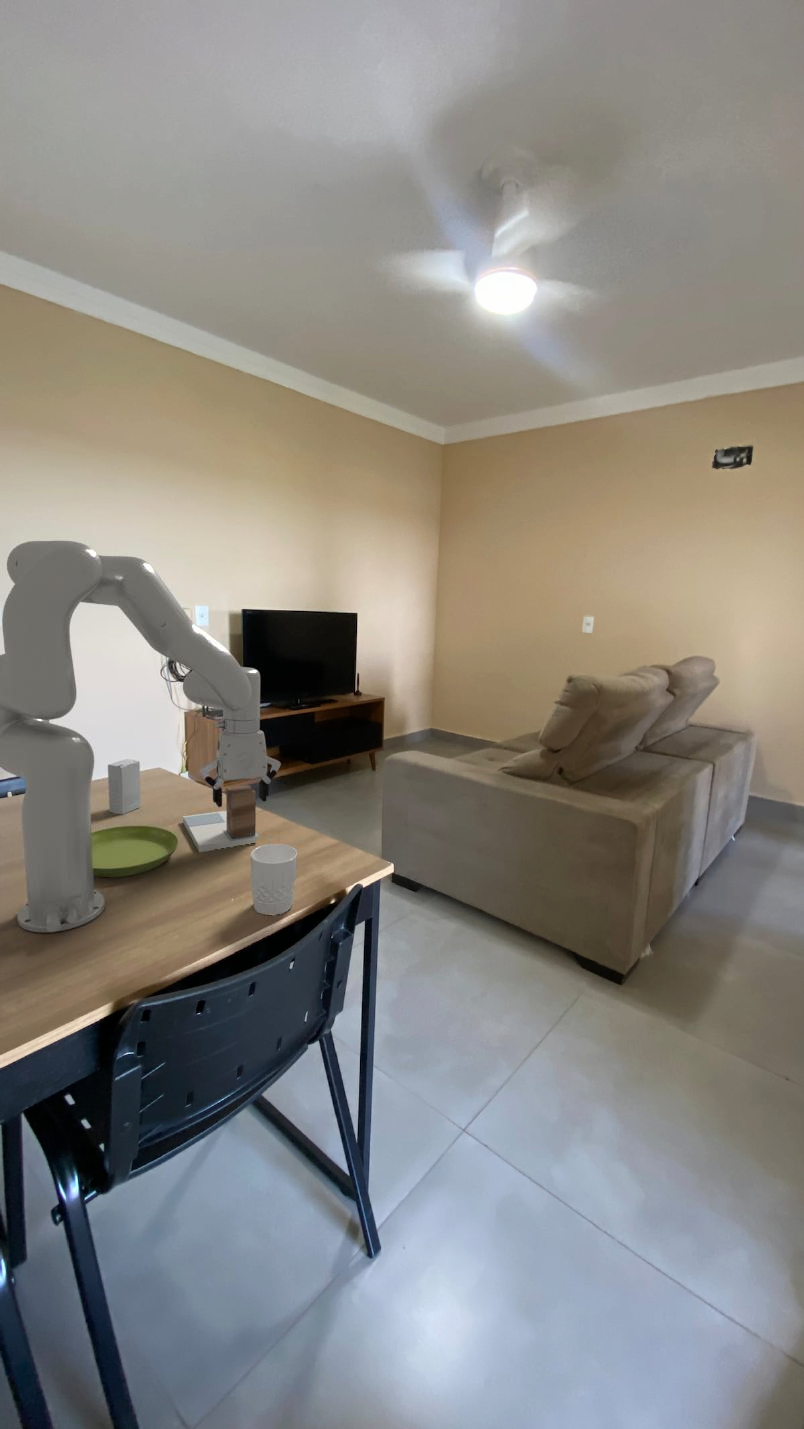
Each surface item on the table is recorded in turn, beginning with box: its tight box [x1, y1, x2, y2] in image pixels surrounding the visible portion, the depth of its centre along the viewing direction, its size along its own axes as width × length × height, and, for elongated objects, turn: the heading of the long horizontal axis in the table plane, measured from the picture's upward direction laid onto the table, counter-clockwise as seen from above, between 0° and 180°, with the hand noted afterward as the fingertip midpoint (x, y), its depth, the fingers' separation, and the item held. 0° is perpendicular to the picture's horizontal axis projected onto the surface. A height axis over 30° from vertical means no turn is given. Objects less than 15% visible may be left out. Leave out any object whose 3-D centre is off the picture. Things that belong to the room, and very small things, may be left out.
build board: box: [182, 810, 261, 853], centre depth 134 cm, size 18×13×2 cm
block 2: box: [226, 810, 257, 839], centre depth 130 cm, size 5×5×5 cm
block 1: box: [225, 784, 257, 817], centre depth 129 cm, size 5×5×5 cm
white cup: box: [250, 843, 298, 916], centre depth 103 cm, size 8×8×10 cm
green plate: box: [91, 825, 180, 878], centre depth 118 cm, size 21×21×3 cm
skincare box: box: [107, 758, 142, 815], centre depth 143 cm, size 6×4×12 cm
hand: (241, 802), depth 129 cm, fingers open, 9 cm apart
